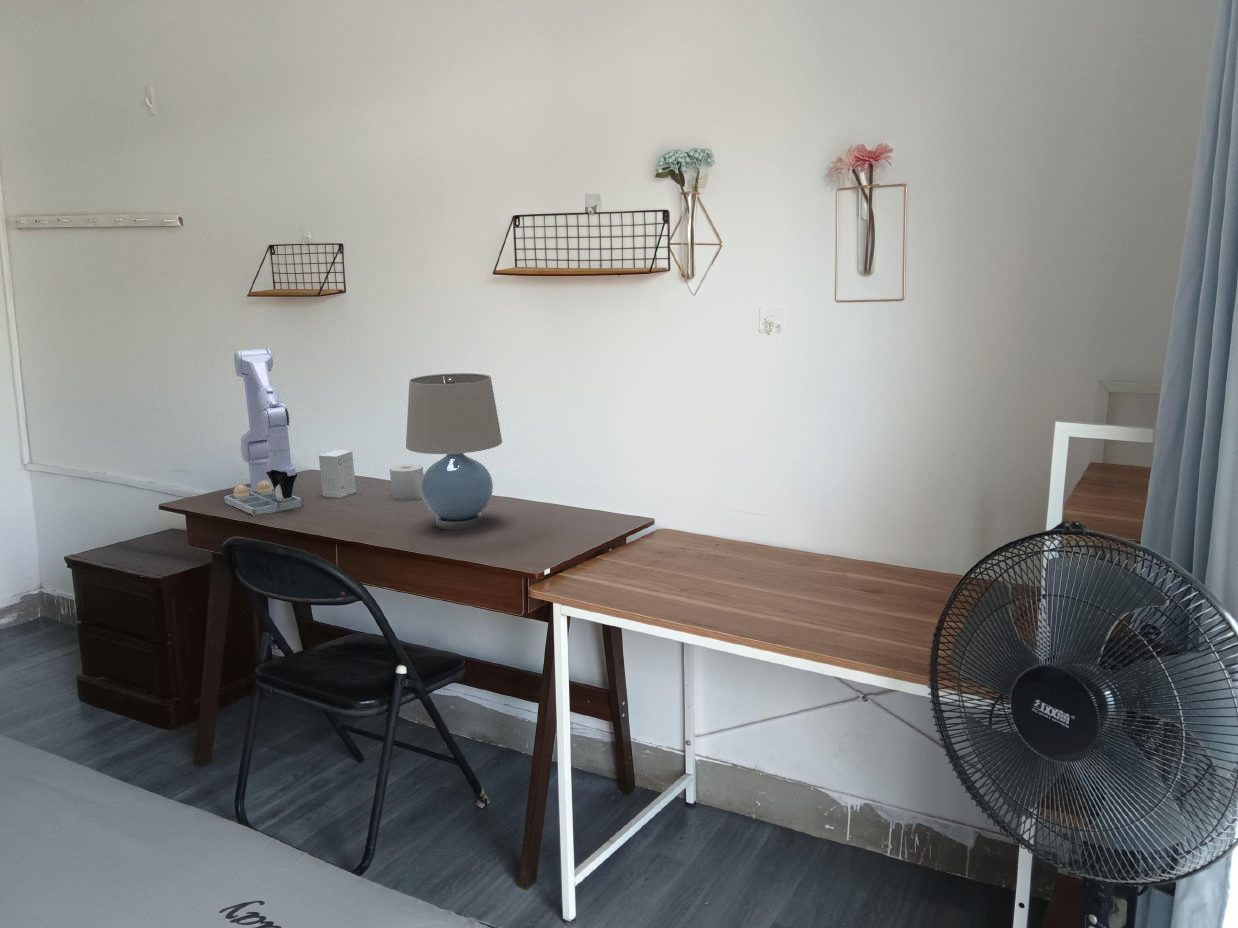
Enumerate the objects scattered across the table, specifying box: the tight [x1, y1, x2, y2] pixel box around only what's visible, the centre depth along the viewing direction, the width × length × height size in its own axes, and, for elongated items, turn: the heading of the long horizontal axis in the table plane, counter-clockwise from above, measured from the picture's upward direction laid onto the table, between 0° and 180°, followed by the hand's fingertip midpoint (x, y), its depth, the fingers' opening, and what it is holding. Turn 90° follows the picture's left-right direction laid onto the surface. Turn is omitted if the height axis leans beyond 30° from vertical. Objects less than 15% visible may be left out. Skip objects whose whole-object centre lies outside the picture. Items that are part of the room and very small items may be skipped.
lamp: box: [405, 372, 503, 531], centre depth 243 cm, size 25×25×39 cm
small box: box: [318, 449, 357, 499], centre depth 278 cm, size 8×6×13 cm
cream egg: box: [275, 484, 292, 503], centre depth 265 cm, size 4×4×5 cm
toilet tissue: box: [389, 463, 424, 501], centre depth 277 cm, size 9×13×9 cm
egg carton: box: [223, 487, 305, 514], centre depth 269 cm, size 14×21×2 cm
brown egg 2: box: [257, 480, 272, 495], centre depth 276 cm, size 4×4×5 cm
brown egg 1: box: [232, 484, 250, 500], centre depth 271 cm, size 4×4×5 cm
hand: (283, 496), depth 266 cm, fingers closed on cream egg, 4 cm apart
